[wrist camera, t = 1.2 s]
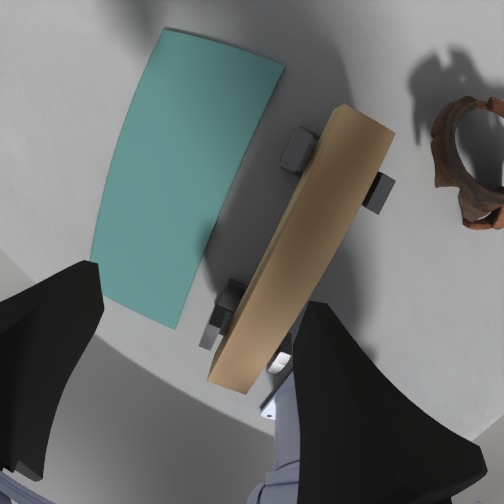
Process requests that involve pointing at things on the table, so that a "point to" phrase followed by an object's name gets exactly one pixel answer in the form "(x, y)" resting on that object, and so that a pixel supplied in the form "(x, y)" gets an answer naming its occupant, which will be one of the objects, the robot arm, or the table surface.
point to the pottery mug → (454, 173)
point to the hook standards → (224, 311)
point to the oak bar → (302, 244)
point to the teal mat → (176, 169)
